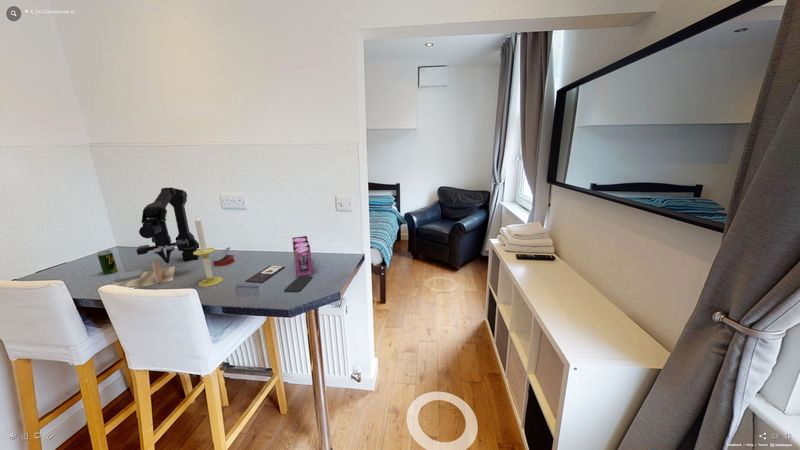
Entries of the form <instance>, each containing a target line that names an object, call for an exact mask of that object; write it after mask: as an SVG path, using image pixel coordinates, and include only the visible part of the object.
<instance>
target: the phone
mask: <svg viewBox="0 0 800 450" xmlns="http://www.w3.org/2000/svg"><path fill="white" fill-rule="evenodd" d="M312 279H314V277H313V276H311V275H306V276H299V277H297V276H296V278H295V279H294V280H293V281H292V282H291V283H289V284H288V286H287V287H285V289H284V290H283V291H284V293H299V292H301V291H303V290H304V288H305V287H306V286H307V285H309V283H310V282H311V281H312Z"/></svg>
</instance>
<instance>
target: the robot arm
mask: <svg viewBox="0 0 800 450" xmlns="http://www.w3.org/2000/svg"><path fill="white" fill-rule="evenodd" d="M187 202H188V193H187V192H186V191H185V190H184V189H179V188H175V187H162V188H161V189H160V192H159V194H158V195H157V197H156V198H155V200H154V201H153V202H151V203H149V204H147V205H146V206H144V208H143V210H142V215H141V216H142V217H141V224H142V226H141V227H139V230H138V233H139V235H140V236H141V237H142V238H143V239H144V238H145V239H151V242H152V243H154V245H152V246H151V245H149V244H144V245H139V246H138V247H137V248H136V254H137V256H138V255H146V254H147V253H149V251H153V253H154V255H158V256H159V257H160V258H161V259H162V260H163V261H164V262H165V263H166V264H170V259H171V253H172V252H174V251H175V247H177V248H176V249H177V251H179V252H181V257H182V261H184V263H186V261H187V262H192V261H197V259H198V260H199V255H194V254H193V252H195V251H197V250H199V249H200V243H199V242H198V240H196V238H195V237H194V235H193V233H192V232H191V231H190V228H189V222H188V218H187V212H186V208H185V206H186V204H187ZM169 204H170V206H171V207H173V211H174V216H175V221H176V226H177V232H178V234H177V237H175V242H172V238H171V236H170V235H169V230H168V226H167V223H166V221H167V213H168V210H167V207H168V205H169ZM164 249H166V250H164ZM165 253H166V254H165Z"/></svg>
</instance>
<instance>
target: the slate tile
mask: <svg viewBox="0 0 800 450" xmlns="http://www.w3.org/2000/svg"><path fill="white" fill-rule="evenodd" d="M143 272H144V271H143V269H139V270H135V271H129V272H124V273H123V272H122V273H120V274H119V273H118V274H117V276H116V277H115V278H114V282H115V284H117V283H121V282H126V281H131V280H136V279H141V277H142V275H143Z"/></svg>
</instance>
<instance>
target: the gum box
mask: <svg viewBox="0 0 800 450" xmlns="http://www.w3.org/2000/svg"><path fill="white" fill-rule="evenodd" d="M292 250H293V251H292V252H293V253H292V254H293V259H294V268H295V277H296V278H297V277H299V276H311V275H314V272H313V263H312V253H311V246H310V243H309V240H308V236H307V235H302V236H296V237H292Z"/></svg>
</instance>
